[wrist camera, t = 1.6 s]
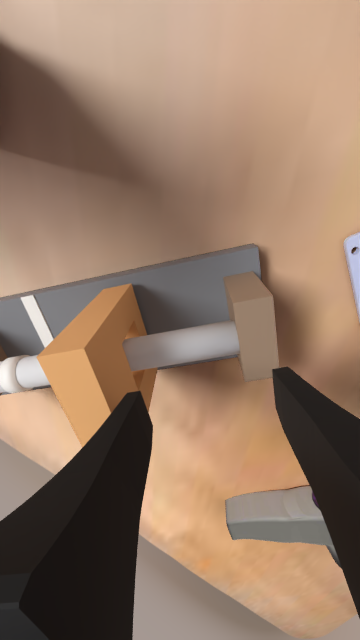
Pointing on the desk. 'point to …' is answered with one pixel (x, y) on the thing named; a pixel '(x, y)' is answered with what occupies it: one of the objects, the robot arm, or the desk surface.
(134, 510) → the robot arm
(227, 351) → the pipe stand
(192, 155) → the desk surface
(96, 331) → the collar
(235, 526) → the infrared thermometer
